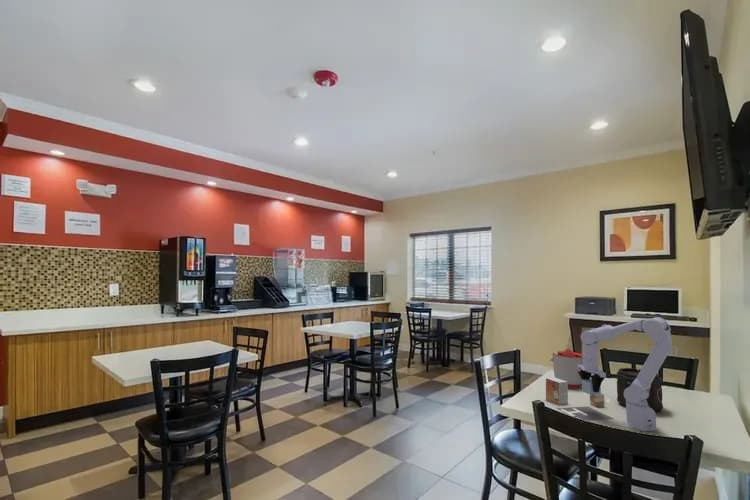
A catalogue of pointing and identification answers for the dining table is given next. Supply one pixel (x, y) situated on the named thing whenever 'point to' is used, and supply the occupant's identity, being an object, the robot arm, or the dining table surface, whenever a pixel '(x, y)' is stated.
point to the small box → (557, 390)
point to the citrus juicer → (568, 367)
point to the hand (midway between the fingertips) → (591, 390)
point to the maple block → (597, 400)
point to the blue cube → (589, 387)
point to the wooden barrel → (625, 380)
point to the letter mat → (585, 413)
